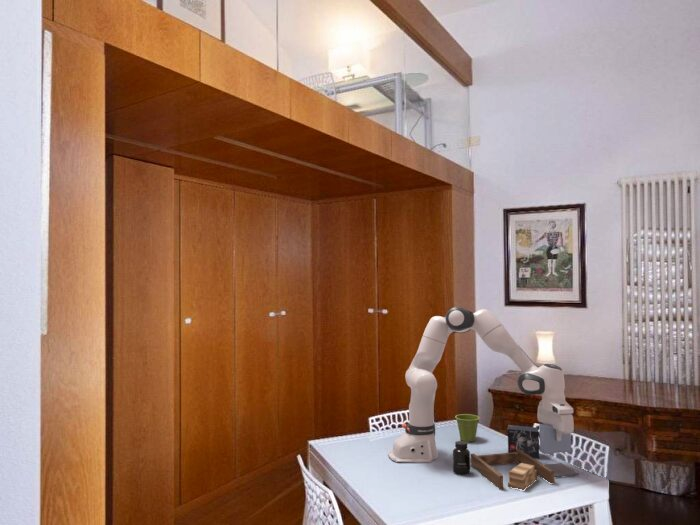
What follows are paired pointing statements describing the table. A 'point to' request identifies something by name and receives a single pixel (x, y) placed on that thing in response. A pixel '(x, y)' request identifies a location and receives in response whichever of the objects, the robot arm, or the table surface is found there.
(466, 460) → the supplement bottle
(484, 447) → the table surface
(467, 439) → the plant pot
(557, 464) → the charcoal mat
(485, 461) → the walnut rack
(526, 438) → the small box
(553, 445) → the gray block
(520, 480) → the offcut stack
